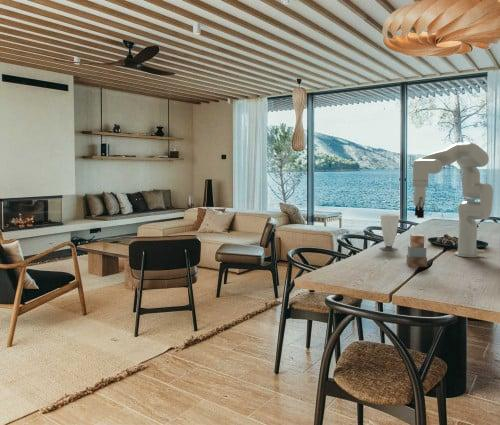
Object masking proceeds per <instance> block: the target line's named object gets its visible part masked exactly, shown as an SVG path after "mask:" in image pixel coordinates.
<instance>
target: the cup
mask: <svg viewBox="0 0 500 425" xmlns="http://www.w3.org/2000/svg"><path fill="white" fill-rule="evenodd" d="M399 222H400V215H399V214H395V213H394V214H393V213H382V214H381V213H380V224H381V225H380V226H381V232H382V233H381V234H382V238H383V243H384V246H385V247H384V246H382V247H379V250H381V251H386V252H395V251H399V248H396V247H394V243H395V240H396V236H397V232H398V229H399Z"/></svg>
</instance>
